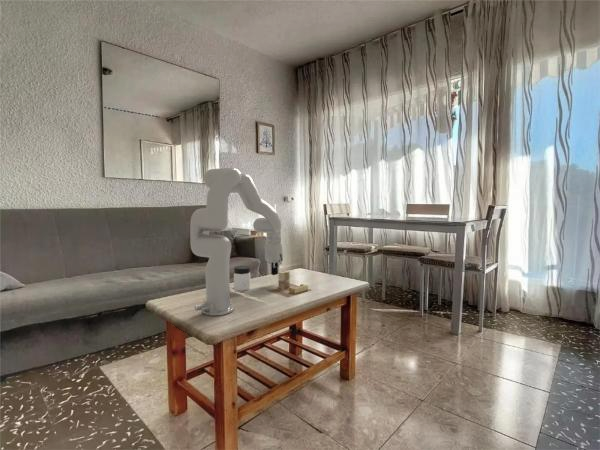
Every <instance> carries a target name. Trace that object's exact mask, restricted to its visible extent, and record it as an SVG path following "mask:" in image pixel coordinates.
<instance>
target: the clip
mask: <svg viewBox="0 0 600 450" xmlns="http://www.w3.org/2000/svg"><path fill="white" fill-rule="evenodd" d="M299 286H300V287H296V288H294V287H289V293H292V294H297V293H301V292H304V291H308V289H309V285H307V284H303V283H301V284H300V285H299ZM308 292H309V291H308Z"/></svg>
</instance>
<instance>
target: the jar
mask: <svg viewBox="0 0 600 450" xmlns="http://www.w3.org/2000/svg"><path fill="white" fill-rule="evenodd" d="M251 282H252V281H251V267H250V266H249V265H237V266H234V268H233V292H235V293H241V294H242V293H244V292H243V291H246V290H250V289H251V287H252V286H251V284H252V283H251Z"/></svg>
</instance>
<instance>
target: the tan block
mask: <svg viewBox="0 0 600 450" xmlns="http://www.w3.org/2000/svg"><path fill="white" fill-rule="evenodd" d="M277 275H278V287H279V288H282V289H284V288H288V287H290V284H291V283H290V278H291V277H290V276H291V275H290V271H288V270H282V271H278V274H277Z"/></svg>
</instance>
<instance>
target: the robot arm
mask: <svg viewBox="0 0 600 450" xmlns="http://www.w3.org/2000/svg"><path fill="white" fill-rule="evenodd" d="M203 182H204V184H205V186H206V187H208V192H207V194H206V205H205V207H201V208H198V209H196V210H194V211H193V213H192V215H191V217H190V225H189V226H190V234H189V235H190V236H189V238H190V239H189V240H190V249H191V251H192V253H193V254H194V255H195V256H197V257H200V258H201V257H204V258H208V261H207V264H206V266H205V269H204V270H205V271H204V272H205V273H204V274H205V297H206V300H204V301H203V303H202V304H199V305H195V306H194V310H195V312H198V311H201V312H202V313H203V314H204V315H206V316H211V317H212V316H215V317H216V316H224V315H227V314H230V313H232V312H233V311H235V310H234V309H235V306H234V305H233V304H231V293H230V292H231V287H230V285H231V284H230V281H231V280H230V261H231V260H230V259H231V253H232V242H231V240H230V239H229V238H228V237H227V236H224V235H221V234H210V232H217V233H218V232H222V231H225V230H226V229H227V227H228V221H229V213H228V212H229V197H230V194H235V193H237V194H238V195H239V198H240V199H241V202H243V205H244V207H245V208H246V209H247V210H249V211H251V212H252V213H255V214H258V215H261V216H262V217H257V218H256V219H255V220H254V221H253V223H252V225H253V226H252V228H253V229H254V231H255V232H257V233H260V234H261V233H265V234H266V243H265V250H264V259H265V261H266V262H267V263H268V264H269V266H270V268H271V269H270V272H271V273H270V274H271V275H272V276H277V275H278V272H279V269H278V268H279V267H280V266H281V265H282V264H283V263H282V262H283V260H284V251H283V245H282V232H281V231H282V222H281V221H282V219H281V218H280V215H279V213H278V212H277V211H276V209H275V208H274V207H272V205H270V204H269V203H268V202H266V201H265V200H264V199H262V196H261V195H260V192H259V190H258V188H257V187H256V185H255V183H254V180H253V178H252V177H251V176H250V175H249V174H247V173H242V172H241V171H240V170H239V169H238V168H234V167H222V168H211V169H208V170H206V172H204V175H203Z"/></svg>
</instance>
